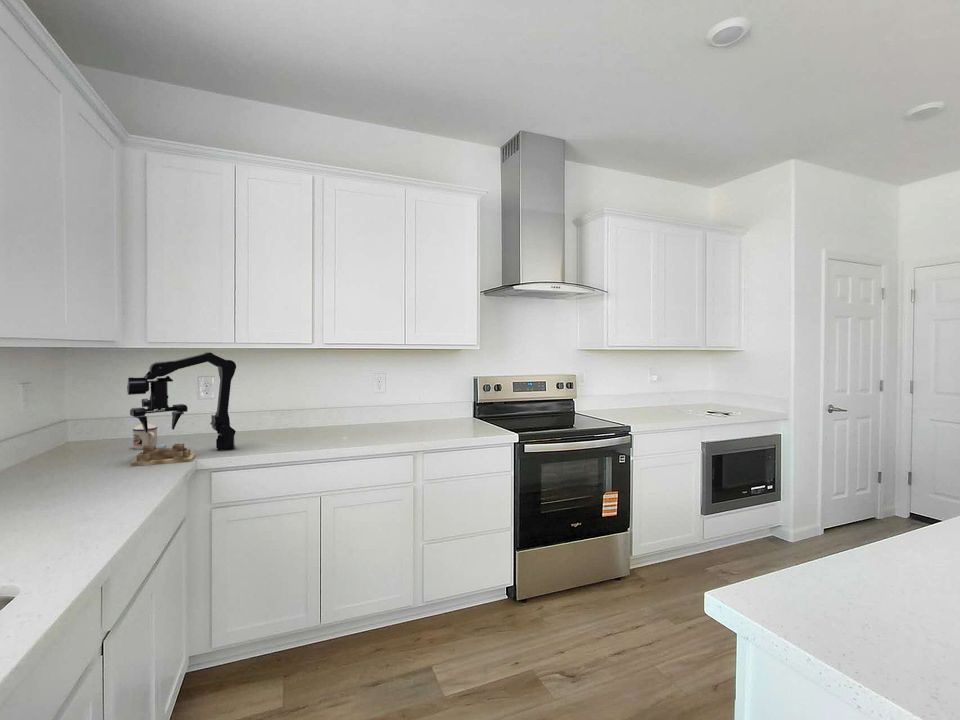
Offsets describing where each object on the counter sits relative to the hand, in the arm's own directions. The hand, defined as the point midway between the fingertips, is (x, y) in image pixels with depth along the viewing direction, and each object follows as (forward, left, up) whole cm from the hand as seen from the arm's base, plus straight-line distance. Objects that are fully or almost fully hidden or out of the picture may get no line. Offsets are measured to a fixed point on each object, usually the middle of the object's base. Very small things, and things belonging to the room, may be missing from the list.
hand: (159, 431), depth 190 cm
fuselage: (-3, +7, -10) cm, 12 cm away
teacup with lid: (+10, -24, -11) cm, 28 cm away
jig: (-3, +7, -11) cm, 13 cm away
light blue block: (+2, -5, -11) cm, 12 cm away
